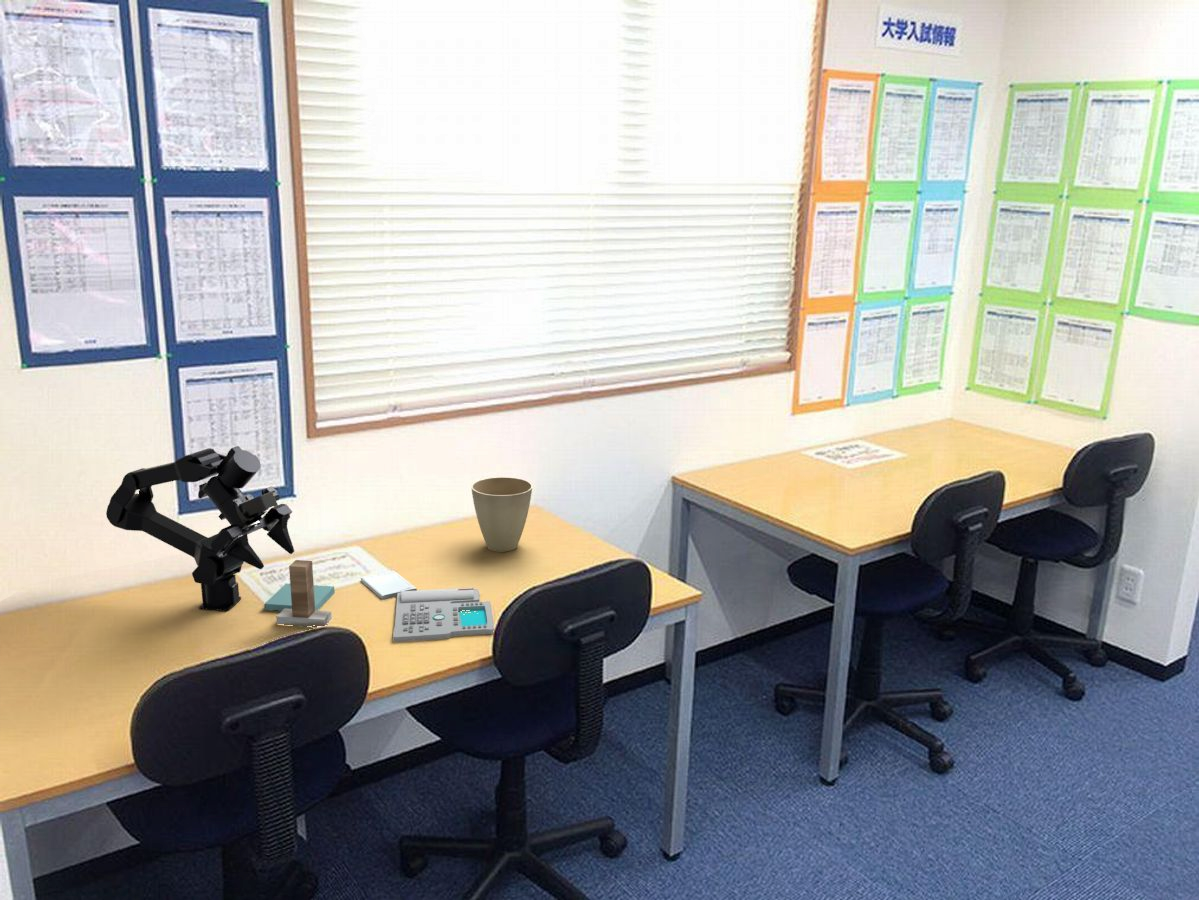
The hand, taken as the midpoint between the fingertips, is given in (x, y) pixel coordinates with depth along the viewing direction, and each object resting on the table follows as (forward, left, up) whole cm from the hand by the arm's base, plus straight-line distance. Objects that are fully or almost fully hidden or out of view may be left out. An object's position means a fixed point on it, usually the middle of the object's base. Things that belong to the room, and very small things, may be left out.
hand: (277, 560), depth 202 cm
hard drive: (+16, +19, -14) cm, 29 cm away
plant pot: (+36, +47, -13) cm, 61 cm away
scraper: (+5, -2, -13) cm, 14 cm away
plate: (0, +8, -13) cm, 15 cm away
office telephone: (+32, +6, -13) cm, 36 cm away
